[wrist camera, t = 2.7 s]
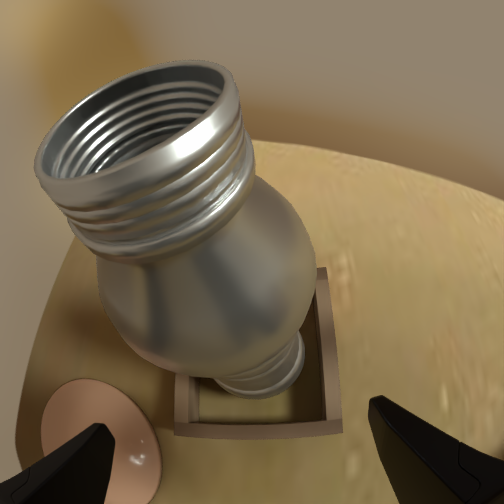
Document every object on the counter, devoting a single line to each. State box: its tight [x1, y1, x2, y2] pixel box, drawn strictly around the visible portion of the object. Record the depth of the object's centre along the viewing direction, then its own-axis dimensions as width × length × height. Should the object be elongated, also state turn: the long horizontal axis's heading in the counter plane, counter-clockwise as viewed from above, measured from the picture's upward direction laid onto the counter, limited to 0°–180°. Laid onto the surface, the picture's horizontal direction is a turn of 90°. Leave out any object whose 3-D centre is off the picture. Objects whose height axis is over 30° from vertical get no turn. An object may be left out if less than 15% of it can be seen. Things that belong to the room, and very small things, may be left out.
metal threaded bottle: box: [34, 60, 317, 400], centre depth 12 cm, size 6×7×20 cm
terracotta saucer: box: [41, 379, 162, 504], centre depth 17 cm, size 13×13×1 cm
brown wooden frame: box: [174, 267, 343, 440], centre depth 20 cm, size 12×11×2 cm
